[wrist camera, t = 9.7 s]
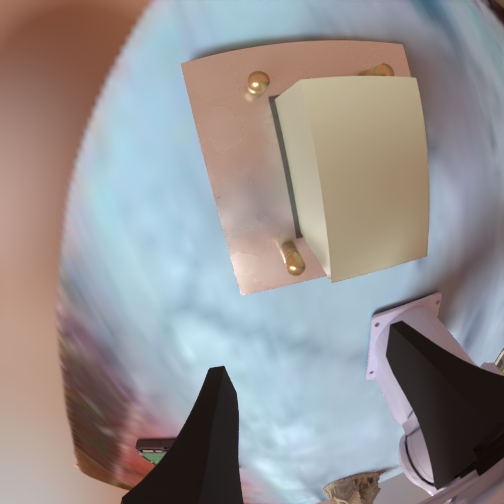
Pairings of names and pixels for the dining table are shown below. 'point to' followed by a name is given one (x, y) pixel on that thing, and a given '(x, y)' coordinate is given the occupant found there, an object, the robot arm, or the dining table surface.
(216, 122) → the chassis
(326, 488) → the ceramic cottage
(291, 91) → the block
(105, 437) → the dining table surface
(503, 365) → the coffee can
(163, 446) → the disk drive
